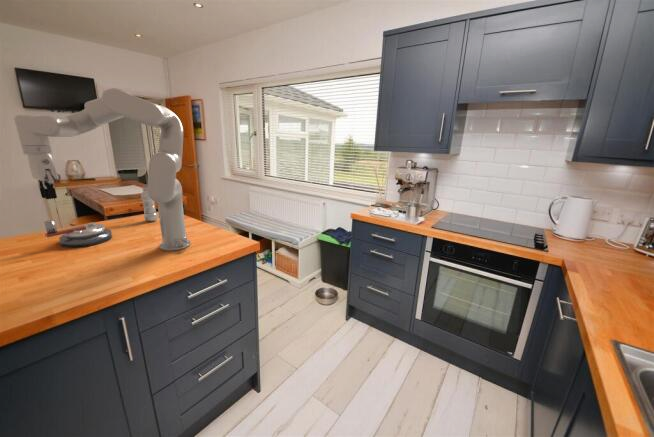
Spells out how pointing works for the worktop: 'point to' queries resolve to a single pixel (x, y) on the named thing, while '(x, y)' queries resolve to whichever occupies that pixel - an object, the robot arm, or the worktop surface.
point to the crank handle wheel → (75, 230)
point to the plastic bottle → (148, 206)
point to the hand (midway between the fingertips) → (49, 197)
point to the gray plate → (85, 240)
